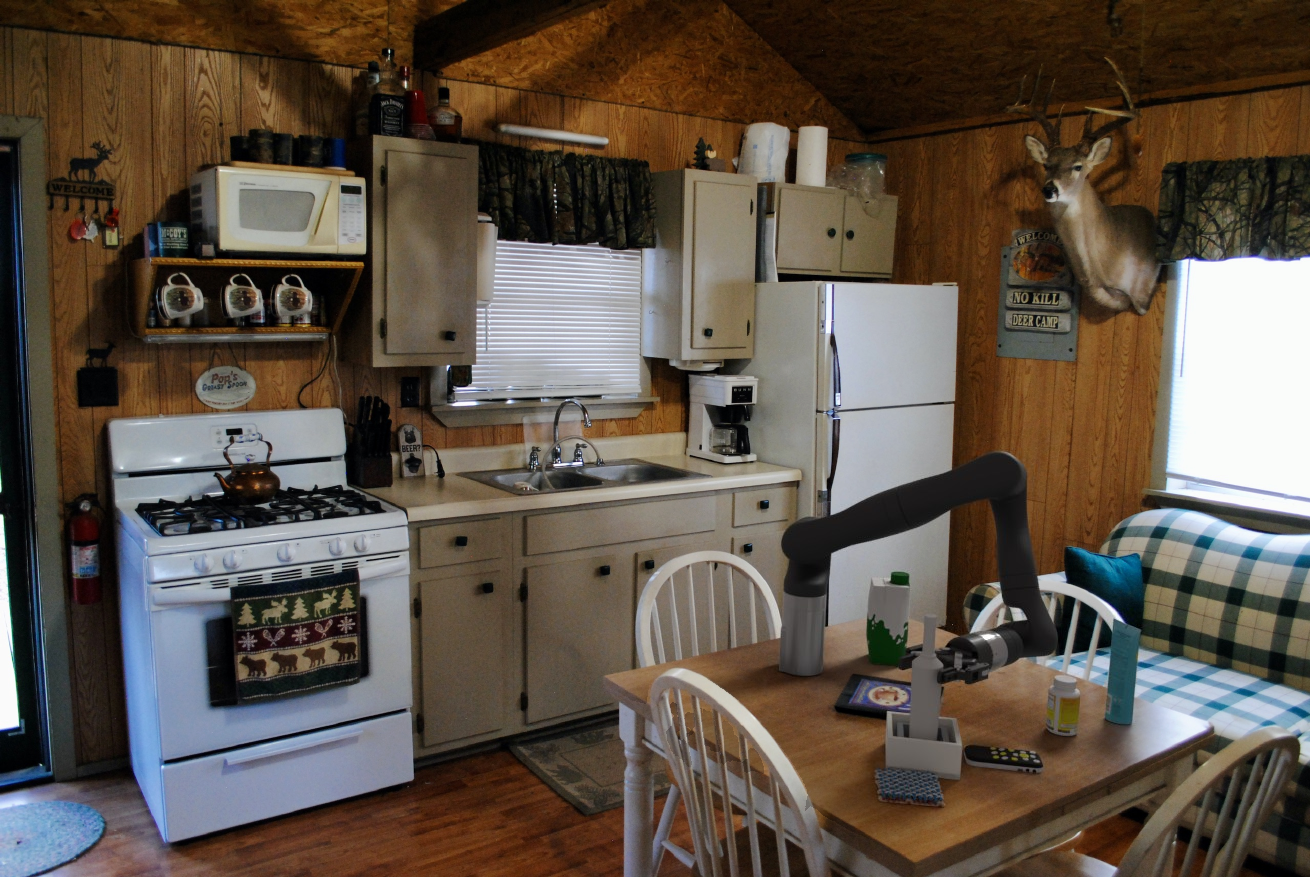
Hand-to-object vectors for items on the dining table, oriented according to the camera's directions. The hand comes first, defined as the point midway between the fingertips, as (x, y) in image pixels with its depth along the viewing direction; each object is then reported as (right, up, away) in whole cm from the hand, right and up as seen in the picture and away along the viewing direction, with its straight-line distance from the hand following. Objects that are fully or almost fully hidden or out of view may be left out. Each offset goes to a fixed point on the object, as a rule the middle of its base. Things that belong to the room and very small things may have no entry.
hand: (919, 671), depth 172 cm
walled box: (+1, -16, +3) cm, 17 cm away
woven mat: (-4, -18, -8) cm, 20 cm away
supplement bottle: (+31, -16, +18) cm, 39 cm away
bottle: (+1, -15, +3) cm, 16 cm away
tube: (+45, -15, +24) cm, 53 cm away
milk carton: (+7, -11, +56) cm, 57 cm away
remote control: (+16, -17, +4) cm, 23 cm away
